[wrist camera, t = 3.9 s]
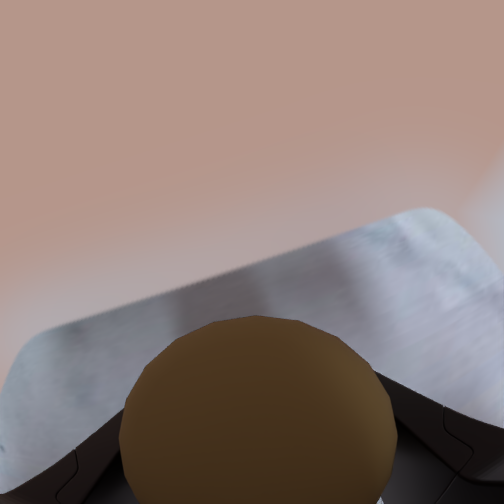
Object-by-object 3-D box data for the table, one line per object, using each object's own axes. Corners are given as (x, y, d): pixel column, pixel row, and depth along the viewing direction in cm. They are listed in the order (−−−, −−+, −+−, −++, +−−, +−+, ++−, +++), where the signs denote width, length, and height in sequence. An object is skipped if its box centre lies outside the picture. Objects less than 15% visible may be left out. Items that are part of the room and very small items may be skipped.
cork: (178, 433, 13) (18, 445, 3) (249, 344, 15) (217, 206, 5) (277, 500, 11) (294, 639, 1) (347, 406, 13) (497, 373, 3)
